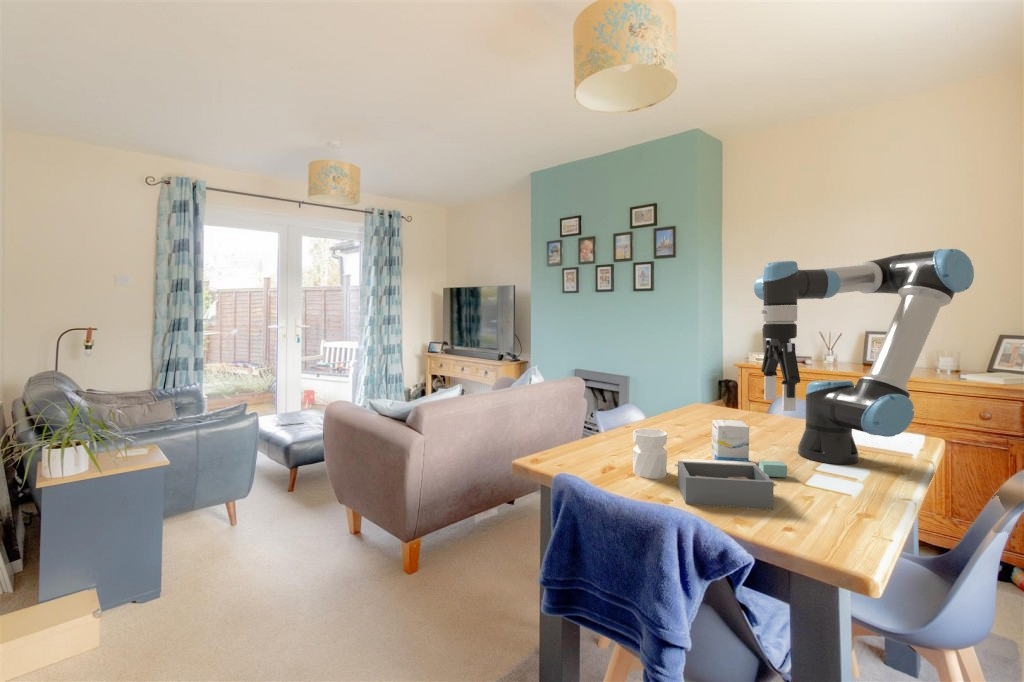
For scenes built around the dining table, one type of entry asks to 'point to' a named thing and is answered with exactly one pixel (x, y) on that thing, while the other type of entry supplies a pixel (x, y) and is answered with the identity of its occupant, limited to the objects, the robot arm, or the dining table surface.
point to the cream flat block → (766, 466)
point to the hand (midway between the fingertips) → (779, 405)
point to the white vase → (650, 453)
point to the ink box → (730, 440)
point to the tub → (725, 485)
